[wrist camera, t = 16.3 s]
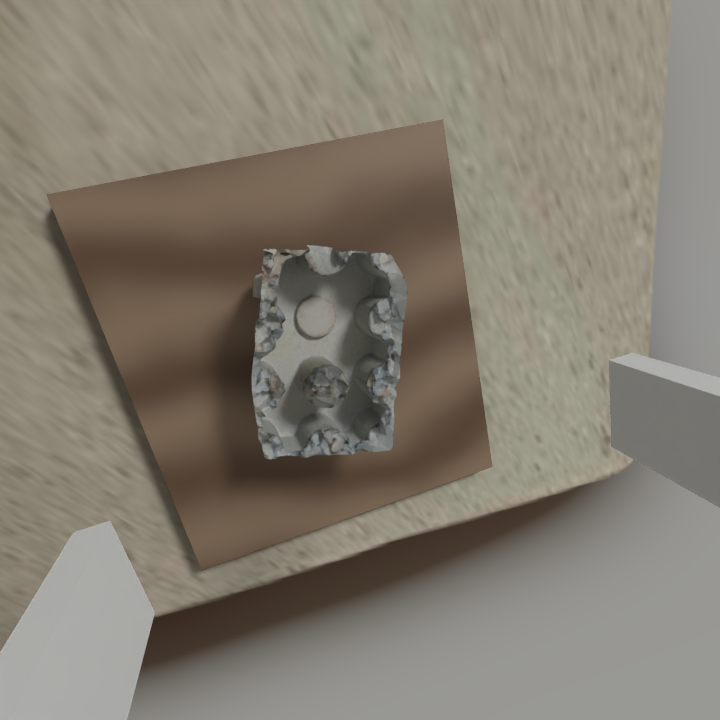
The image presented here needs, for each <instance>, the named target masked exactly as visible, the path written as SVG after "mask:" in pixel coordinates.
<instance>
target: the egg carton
mask: <svg viewBox="0 0 720 720" xmlns="http://www.w3.org/2000/svg"><path fill="white" fill-rule="evenodd" d="M306 246H307V248H308V249H306V250H287V249H264V250H263V252H264V253H265V254H264V258H263V264H262V273H261V274H258V275H256V276H255V278H254V283H253V297H257V298H259V299H261V302H260V310H259V319H258V320H256V326H255V352H254V358H253V367H252V395H253V402H254V409H255V416H256V421H257V426H258V438H259V441H260V443H261V445H262V449H263V453H264V457H265V458H266V459H276V458H278V457H280V456H298V457H301V458H308V457H310V456H314V455H327V456H331V455H337V454H340V455H347V454H349V455H353V454H354V453H356V452H359V451H365V452H380V451H389V450H391V449H392V447H393V431H394V417H395V416H394V400H395V398H396V397H397V394H396V390H395V389H396V384H397V383H398V381H399V379H400V355H401V348H402V329H403V323H404V317H405V311H406V305H407V285H406V282H405V279H404V277H403V275H402V273H401V271H400V269H399V268H398V266H397V264H396V262H395V260H394V258H393V257H392V255H390V254H387V253H373V254H372V253H369V252H364V251H348V252H344V251H338V250H335V249H334V248H333V247H323V246H313V245H306Z"/></svg>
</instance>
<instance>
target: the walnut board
mask: <svg viewBox="0 0 720 720" xmlns="http://www.w3.org/2000/svg"><path fill="white" fill-rule="evenodd" d="M47 197H48V200H49V202H50V204H51V207H52V209H53V212H54V214H55V217H56V219H57V221H58V224H59V226H60V229H61V231H62V233H63V236H64V238H65V241H66V243H67V246H68V248H69V250H70V253H71V255H72V258H73V260H74V263H75V265H76V267H77V270H78V272H79V275H80V277H81V279H82V282H83V284H84V287H85V289H86V292H87V294H88V296H89V299H90V301H91V304H92V306H93V309H94V311H95V313H96V316H97V318H98V321H99V323H100V325H101V328H102V330H103V333H104V335H105V338H106V340H107V342H108V345H109V347H110V350H111V352H112V355H113V357H114V359H115V362H116V364H117V367H118V369H119V371H120V374H121V376H122V379H123V381H124V384H125V386H126V388H127V391H128V393H129V396H130V398H131V401H132V403H133V405H134V408H135V410H136V413H137V415H138V417H139V420H140V422H141V425H142V427H143V430H144V432H145V434H146V437H147V439H148V442H149V444H150V447H151V449H152V451H153V454H154V456H155V459H156V461H157V464H158V466H159V468H160V471H161V473H162V476H163V478H164V480H165V483H166V485H167V488H168V490H169V493H170V495H171V497H172V500H173V502H174V505H175V507H176V510H177V512H178V514H179V517H180V519H181V522H182V524H183V526H184V529H185V531H186V534H187V536H188V539H189V541H190V543H191V546H192V548H193V551H194V553H195V556H196V558H197V560H198V563H199V565H200V568H201V570H204V569H207V568H210V567H212V566H215V565H218V564H221V563H224V562H226V561H229V560H232V559H235V558H238V557H241V556H243V555H246V554H249V553H252V552H255V551H257V550H260V549H263V548H266V547H269V546H271V545H274V544H277V543H280V542H283V541H285V540H288V539H291V538H294V537H297V536H299V535H302V534H305V533H308V532H311V531H314V530H316V529H319V528H322V527H325V526H328V525H330V524H333V523H336V522H339V521H342V520H344V519H347V518H350V517H353V516H356V515H358V514H361V513H364V512H367V511H370V510H372V509H375V508H378V507H381V506H384V505H387V504H389V503H392V502H395V501H398V500H401V499H403V498H406V497H409V496H412V495H415V494H417V493H420V492H423V491H426V490H429V489H431V488H434V487H437V486H440V485H443V484H445V483H448V482H451V481H454V480H457V479H460V478H462V477H465V476H468V475H471V474H474V473H476V472H479V471H482V470H485V469H488V468H490V467H492V461H491V454H490V447H489V440H488V433H487V426H486V419H485V412H484V405H483V398H482V391H481V384H480V377H479V370H478V363H477V356H476V349H475V342H474V335H473V328H472V321H471V314H470V307H469V300H468V293H467V286H466V279H465V272H464V265H463V257H462V250H461V243H460V236H459V229H458V222H457V215H456V208H455V201H454V194H453V187H452V180H451V173H450V166H449V159H448V152H447V145H446V138H445V131H444V124H443V120H438V121H433V122H427V123H422V124H417V125H412V126H406V127H401V128H396V129H390V130H385V131H380V132H375V133H369V134H364V135H359V136H353V137H348V138H343V139H338V140H332V141H327V142H322V143H317V144H311V145H306V146H301V147H295V148H290V149H285V150H280V151H274V152H269V153H264V154H258V155H253V156H248V157H243V158H237V159H232V160H227V161H221V162H216V163H211V164H206V165H200V166H195V167H190V168H185V169H179V170H174V171H169V172H163V173H158V174H153V175H148V176H142V177H137V178H132V179H126V180H121V181H116V182H111V183H105V184H100V185H95V186H90V187H84V188H79V189H74V190H68V191H63V192H58V193H53V194H47ZM306 245H313V246H323V247H333V248H334V249H335V250H338V251H344V252H348V251H364V252H369V253H372V254H373V253H387V254H390V255H392V257H393V258H394V260H395V262H396V264H397V266H398V268H399V269H400V271H401V273H402V275H403V277H404V279H405V282H406V285H407V305H406V311H405V317H404V323H403V329H402V348H401V355H400V379H399V381H398V383H397V384H396V389H395V390H396V394H397V397H396V398H395V400H394V416H395V417H394V431H393V447H392V449H391V450H389V451H380V452H365V451H359V452H356V453H354V454H353V455H349V454H347V455H340V454H337V455H331V456H327V455H314V456H310V457H308V458H301V457H298V456H280V457H278V458H276V459H266V458H265V457H264V453H263V449H262V445H261V443H260V441H259V438H258V426H257V421H256V416H255V409H254V402H253V395H252V367H253V358H254V352H255V326H256V320H258V319H259V310H260V302H261V299H259V298H257V297H253V283H254V278H255V276H256V275H258V274H261V273H262V264H263V258H264V254H265V253H264V252H263V250H264V249H287V250H306V249H308V248H307V246H306Z"/></svg>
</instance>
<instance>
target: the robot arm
mask: <svg viewBox="0 0 720 720" xmlns="http://www.w3.org/2000/svg"><path fill="white" fill-rule="evenodd" d="M609 379H610V414H611V447H613V448H615V449H617V450H618V451H620V452H622V453H624V454H626V455H627V456H629V457H631V458H633V459H634V460H636V461H638V462H640V463H642V464H643V465H645V466H647V467H649V468H650V469H652V470H654V471H656V472H658V473H659V474H661V475H663V476H665V477H666V478H669V479H670V480H672V481H674V482H675V483H677V484H679V485H681V486H682V487H684V488H686V489H688V490H690V491H691V492H693V493H695V494H697V495H698V496H700V497H702V498H704V499H706V500H707V501H709V502H711V503H713V504H714V505H716V506H718V507H720V378H718V377H715V376H711V375H708V374H704V373H701V372H697V371H694V370H690V369H687V368H684V367H680V366H676V365H673V364H669V363H666V362H662V361H659V360H655V359H652V358H649V357H645V356H642V355H638V354H635V353H630V354H627V355H624V356H621V357H618V358H615V359H611V360H609ZM154 613H155V612H154V610H153V608H152V606H151V604H150V602H149V600H148V598H147V596H146V594H145V592H144V590H143V587H142V585H141V583H140V581H139V579H138V577H137V575H136V573H135V571H134V569H133V567H132V565H131V563H130V561H129V559H128V557H127V555H126V553H125V550H124V548H123V546H122V544H121V542H120V540H119V538H118V536H117V534H116V532H115V530H114V528H113V526H112V524H111V522H110V521H107V522H104V523H101V524H98V525H95V526H92V527H89V528H86V529H83V530H79V531H76V532H73V534H72V536H71V537H70V539H69V540H68V542H67V544H66V545H65V547H64V549H63V550H62V552H61V554H60V555H59V557H58V558H57V560H56V562H55V563H54V565H53V567H52V568H51V570H50V572H49V573H48V575H47V576H46V578H45V580H44V581H43V583H42V585H41V586H40V588H39V590H38V591H37V593H36V594H35V596H34V598H33V599H32V601H31V603H30V604H29V606H28V608H27V609H26V611H25V612H24V614H23V616H22V617H21V619H20V621H19V622H18V624H17V626H16V627H15V629H14V631H13V632H12V634H11V635H10V637H9V639H8V640H7V642H6V644H5V645H4V647H3V649H2V650H1V652H0V720H127V718H128V714H129V710H130V707H131V703H132V699H133V695H134V691H135V687H136V683H137V679H138V676H139V672H140V668H141V663H142V660H143V656H144V652H145V648H146V644H147V640H148V636H149V633H150V629H151V625H152V621H153V617H154Z"/></svg>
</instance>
